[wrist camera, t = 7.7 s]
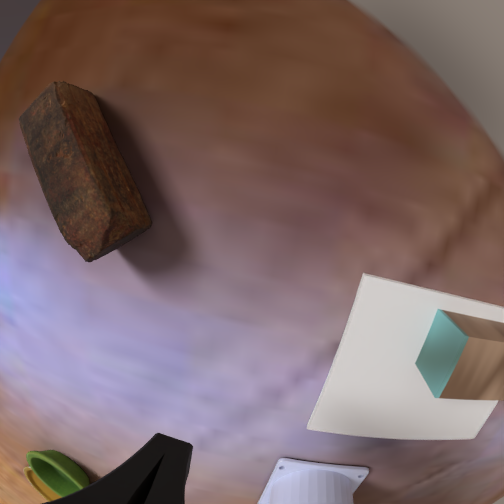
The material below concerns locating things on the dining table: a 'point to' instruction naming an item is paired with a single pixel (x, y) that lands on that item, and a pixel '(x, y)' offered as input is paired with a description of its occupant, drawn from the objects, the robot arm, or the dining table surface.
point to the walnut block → (463, 357)
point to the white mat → (395, 368)
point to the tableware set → (54, 474)
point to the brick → (82, 171)
